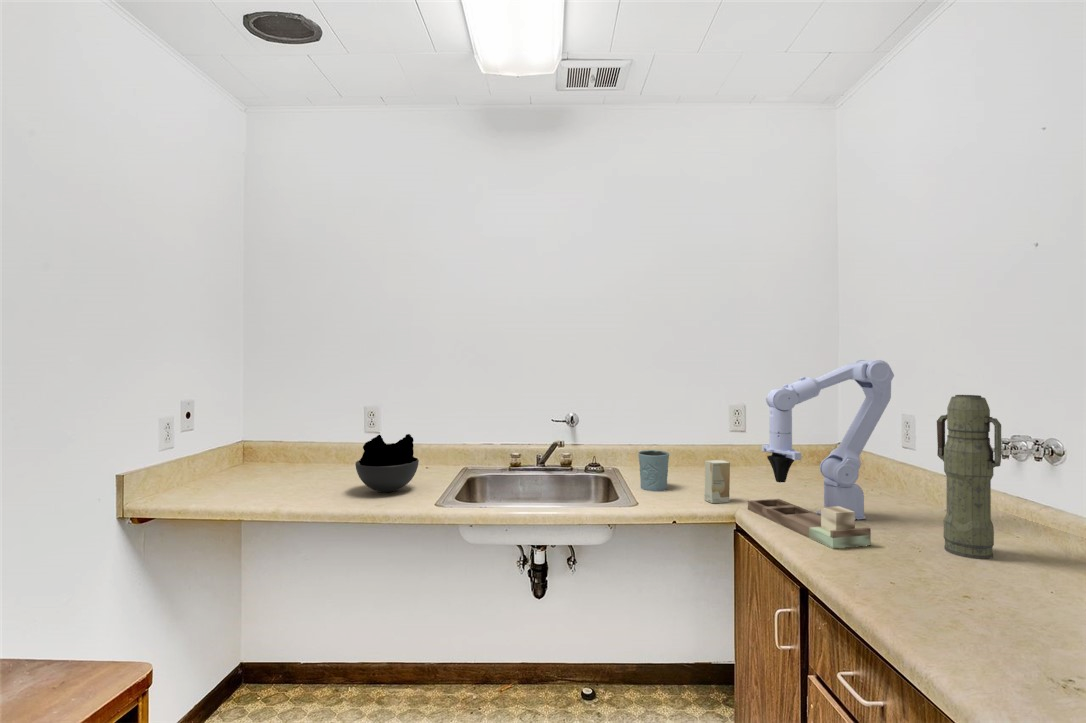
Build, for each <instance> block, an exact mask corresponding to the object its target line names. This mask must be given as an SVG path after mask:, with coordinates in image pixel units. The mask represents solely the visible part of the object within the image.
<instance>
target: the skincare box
mask: <svg viewBox="0 0 1086 723" xmlns="http://www.w3.org/2000/svg"><path fill="white" fill-rule="evenodd" d="M704 462H705V463H704V501H707V502H708V503H710V504H720V503H721V504H723V503H730V482H731V480H730V478H731V477H730V476H731V462H729V461H727V460H723V459H718V460H717V459H716V460H705V461H704Z"/></svg>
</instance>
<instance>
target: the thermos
mask: <svg viewBox="0 0 1086 723" xmlns="http://www.w3.org/2000/svg"><path fill="white" fill-rule="evenodd" d="M990 409H991V408H990V406H989V404H988V401H987V399H986V397H983V396H982V395H978V394H977V395H976V394H955V395H954V396H951V397H950V400H949V402H948V405H947V409H946V410H947V413H946V415H945V414H943V415H940V416H939V418H938V419H937V420H936V434H937V435H936V436H937V437H936V440H937V456H938V458H939V459H940V460H942V462H943V472H944V473H945V476H946V514H945V516H944V519H943V539H944V550H945V551H946V552H948V553H950V554H952V555H953V554H954V555H955V556H959V557H963V558H969V559H977V560H978V559H979V560H988V559H992V558H993V557H994V554H993V547H994V546H995V540H994V539H995V531H994V524H993V522H992V518H991V517H992V516H991V515H992V513H991V512H992V511H991V510H992V509H991V508H992V507H991V506H992V505H991V503H992V499H991V498H992V497H991V496H992V495H991V493H992V490H991V488H992V486H991V485H992V484H991V480H992V478H993V477H994V469H995V468H997V467H1000V466H1001V463H1002V424H1001V422H1000V421H999V420H998V418H995V417H993V416H991V410H990ZM946 423H947V424H946ZM991 423H992V424H993V427H994V429H993V430H994V434H993V435H994V440H993V441H994V442H993V444H994V451H993V447H992V444H991V439H990V432H991ZM946 425H947V426H946ZM946 427H947V428H946ZM946 429H947V430H948V431H947V433H948V434H947V435H946ZM946 437H947V438H946ZM946 439H947V440H946Z"/></svg>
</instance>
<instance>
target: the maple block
mask: <svg viewBox="0 0 1086 723" xmlns="http://www.w3.org/2000/svg"><path fill="white" fill-rule="evenodd" d="M820 511H821V528H822V529H824V530H826V531H829V532H830V530H842V529H855V528H856V525H855V524H856V523H855V522H856V520H855V512H854V511H851V510H848V509H845V508H843V507H840V506H836V507H824V506H823V507H820Z"/></svg>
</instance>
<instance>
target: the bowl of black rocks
mask: <svg viewBox="0 0 1086 723" xmlns="http://www.w3.org/2000/svg"><path fill="white" fill-rule="evenodd" d="M362 449H363V452H362V456H361V458H360V459H359V460H357V461H355V470H356V474H357V476H358V477H359V479H360V481H361V482H362V483H363V484H364V485H365V486H366V487H368V488H370V489H371V490H373V491H376V492H380V493H390V492H395V491H397V490H400V489H402V488H404V487H406V486H407V485H408V484H409V483H410V481H412V480H413V478H414V477H415V475H416V473H417V470H418V467H419V462H420V461H419V460H420V459H419V458H417V457H414V437H412V434H410V433H407V434H405V436H404V437H402V439H399V440H398V441H396V442H393V443H386V442H385V440H384V439H383V437H382V435H381V434H377V435H376V436H375V437H373V438H371V439H370V440H369V441H366V442H365V443H364V445H362Z"/></svg>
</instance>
